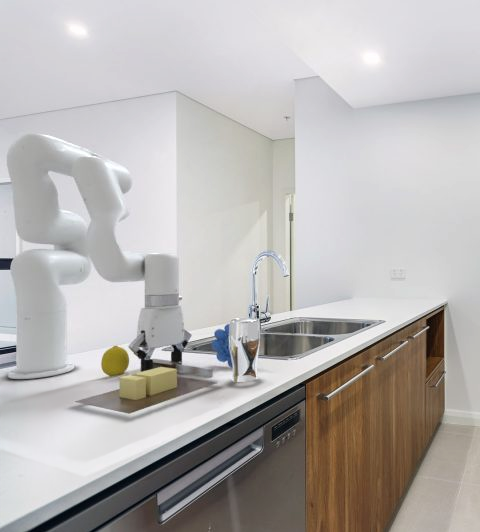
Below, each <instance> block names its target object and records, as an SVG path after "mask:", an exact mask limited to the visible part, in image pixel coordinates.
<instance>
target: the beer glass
mask: <svg viewBox="0 0 480 532" xmlns="http://www.w3.org/2000/svg"><path fill="white" fill-rule="evenodd" d="M260 320H261V319H260V318H257V317H239V318H232V319H230V320H229V324H230V326H229V349H230V354H231V360H232V366H233V368H232V373H231V380H230V381H232V382H234V383H247V382H252V381H255V380H258V378H259V376H258V369H257V367H258V359H259V354H260V348H261V321H260Z"/></svg>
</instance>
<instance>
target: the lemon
mask: <svg viewBox="0 0 480 532" xmlns="http://www.w3.org/2000/svg"><path fill="white" fill-rule="evenodd" d="M129 365H130V357H129V353H128V351H127V350H126V349H125V348H123V347H121V346H118V345H113V346H112V347H110V348H109V349H107V350H105V352H104V353H103V355H102V357H101V361H100V367H101V370H102V372H103V373H104V374H105V375H107V376H108V377H112V376H118V375H119V376H120V375H123V374H124V373H125V372H126V371H127V370H128V368H129Z"/></svg>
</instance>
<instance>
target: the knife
mask: <svg viewBox="0 0 480 532" xmlns="http://www.w3.org/2000/svg"><path fill="white" fill-rule="evenodd" d="M151 359H152V360H153V369H154V368H158V367H165V368H172V369H177V373H180V374H188V375H196V376H201V377H208V378H213V377H214V369H213V368H208V367H201V366H194V365H186V364H182V365H181V362H176V361H171V360H167V359H160V358H151Z"/></svg>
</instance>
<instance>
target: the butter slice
mask: <svg viewBox="0 0 480 532" xmlns="http://www.w3.org/2000/svg"><path fill="white" fill-rule="evenodd" d="M119 389H120V397H122V398H127V399H132V400H139V399H142V398H145V397H146V378H145V377H138V376H134V375H131V374H128V375H123V376H119Z"/></svg>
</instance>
